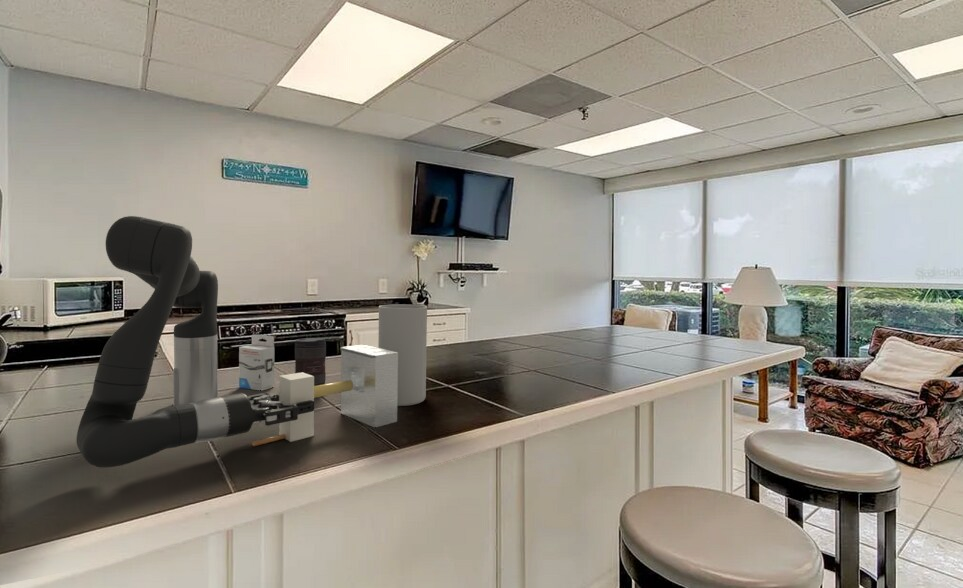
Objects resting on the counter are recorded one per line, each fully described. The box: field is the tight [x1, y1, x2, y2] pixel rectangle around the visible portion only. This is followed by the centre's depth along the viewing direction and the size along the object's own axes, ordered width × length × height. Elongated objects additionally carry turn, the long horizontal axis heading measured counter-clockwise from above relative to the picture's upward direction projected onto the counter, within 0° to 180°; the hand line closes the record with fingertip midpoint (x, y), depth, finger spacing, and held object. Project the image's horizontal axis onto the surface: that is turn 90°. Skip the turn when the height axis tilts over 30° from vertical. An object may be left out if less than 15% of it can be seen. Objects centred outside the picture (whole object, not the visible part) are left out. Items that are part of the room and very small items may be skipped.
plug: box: [251, 372, 353, 447], centre depth 100 cm, size 21×5×12 cm, turn 137°
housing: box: [339, 344, 398, 428], centre depth 111 cm, size 7×14×16 cm, turn 47°
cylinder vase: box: [377, 303, 428, 407], centre depth 126 cm, size 12×12×25 cm
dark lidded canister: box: [294, 337, 327, 386], centre depth 131 cm, size 8×8×15 cm
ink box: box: [238, 334, 275, 392], centre depth 136 cm, size 9×5×15 cm, turn 71°
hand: (303, 400), depth 100 cm, fingers open, 8 cm apart
